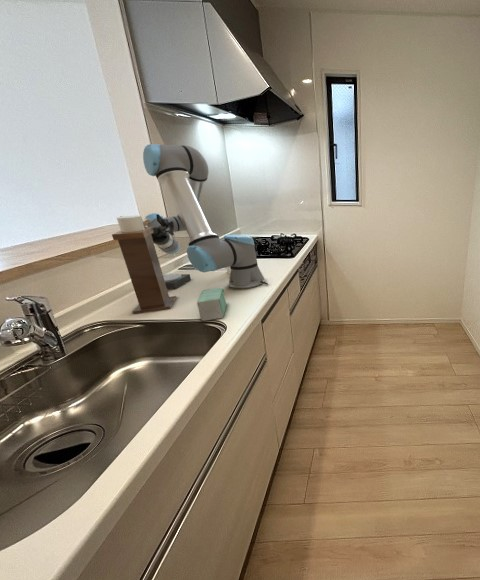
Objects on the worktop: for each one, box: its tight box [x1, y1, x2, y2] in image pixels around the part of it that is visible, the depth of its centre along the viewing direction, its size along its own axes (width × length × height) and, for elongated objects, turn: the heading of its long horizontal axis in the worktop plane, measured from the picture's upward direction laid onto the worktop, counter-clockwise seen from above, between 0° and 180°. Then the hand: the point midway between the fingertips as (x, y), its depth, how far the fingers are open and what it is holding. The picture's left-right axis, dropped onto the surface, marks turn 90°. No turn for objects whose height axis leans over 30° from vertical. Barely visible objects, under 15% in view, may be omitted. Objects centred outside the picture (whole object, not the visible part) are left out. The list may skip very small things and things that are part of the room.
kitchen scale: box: [163, 273, 192, 290], centre depth 147 cm, size 13×13×4 cm
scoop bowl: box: [116, 214, 151, 232], centre depth 119 cm, size 21×7×5 cm, turn 22°
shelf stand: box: [111, 227, 178, 315], centre depth 119 cm, size 12×12×30 cm
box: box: [196, 287, 227, 322], centre depth 117 cm, size 7×14×8 cm, turn 22°
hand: (140, 218), depth 122 cm, fingers open, 11 cm apart
